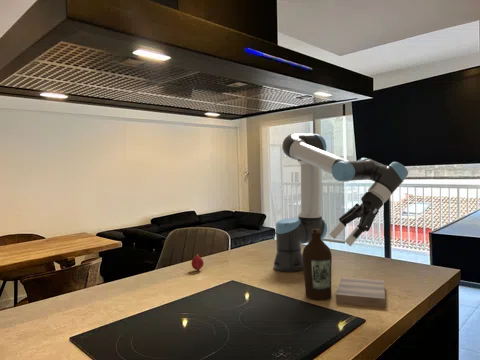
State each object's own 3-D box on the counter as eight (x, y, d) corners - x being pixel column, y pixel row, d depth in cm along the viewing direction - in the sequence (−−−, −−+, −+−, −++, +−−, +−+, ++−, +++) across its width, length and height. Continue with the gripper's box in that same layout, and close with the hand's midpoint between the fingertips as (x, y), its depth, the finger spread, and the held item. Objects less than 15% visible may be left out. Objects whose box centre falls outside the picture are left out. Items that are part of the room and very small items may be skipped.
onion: (192, 272, 167) (191, 256, 166) (191, 269, 172) (190, 253, 172) (204, 271, 168) (203, 255, 167) (203, 268, 173) (202, 252, 173)
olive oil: (300, 292, 134) (297, 227, 134) (326, 289, 136) (324, 226, 135) (309, 302, 124) (306, 232, 123) (337, 299, 125) (335, 230, 125)
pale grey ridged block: (341, 284, 141) (341, 277, 141) (384, 287, 135) (383, 280, 135) (336, 302, 123) (335, 294, 123) (385, 307, 117) (385, 298, 117)
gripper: (402, 207, 119) (362, 254, 118) (365, 201, 144) (332, 240, 142) (387, 192, 118) (347, 239, 117) (353, 189, 143) (319, 228, 142)
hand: (339, 240), depth 130 cm, fingers open, 13 cm apart
